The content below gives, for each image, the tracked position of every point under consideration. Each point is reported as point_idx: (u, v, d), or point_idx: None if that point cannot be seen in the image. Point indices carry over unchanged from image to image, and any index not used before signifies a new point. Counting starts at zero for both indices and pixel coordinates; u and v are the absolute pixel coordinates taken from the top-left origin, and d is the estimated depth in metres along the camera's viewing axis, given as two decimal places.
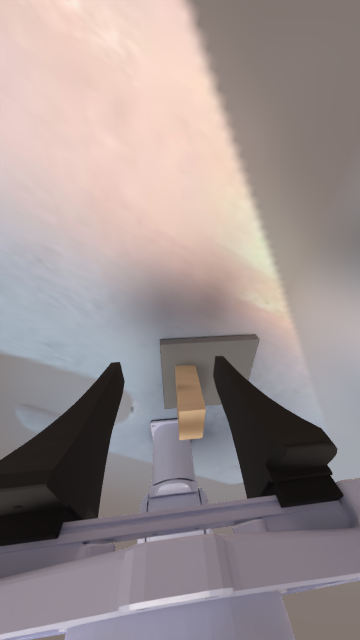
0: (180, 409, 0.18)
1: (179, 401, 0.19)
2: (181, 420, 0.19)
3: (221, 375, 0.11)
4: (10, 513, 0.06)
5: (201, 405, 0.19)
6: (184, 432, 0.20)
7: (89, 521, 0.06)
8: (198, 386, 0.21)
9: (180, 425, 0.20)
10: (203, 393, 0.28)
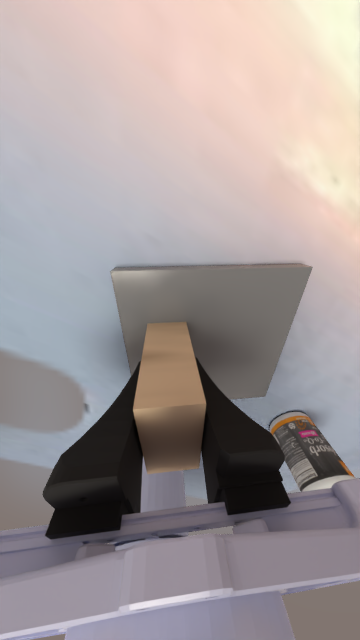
0: (137, 403, 0.07)
1: (140, 384, 0.08)
2: (144, 432, 0.08)
3: None
4: (74, 505, 0.06)
5: (195, 393, 0.07)
6: (156, 458, 0.09)
7: None
8: (189, 354, 0.10)
9: (143, 444, 0.08)
10: None
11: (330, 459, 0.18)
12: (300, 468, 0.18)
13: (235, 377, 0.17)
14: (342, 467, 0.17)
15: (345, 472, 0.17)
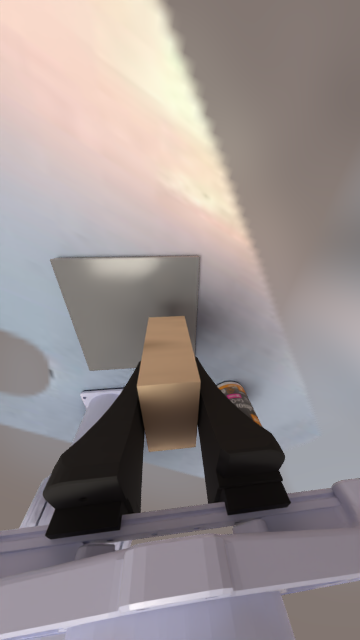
0: (141, 381, 0.08)
1: (143, 367, 0.09)
2: (146, 408, 0.09)
3: None
4: (73, 505, 0.06)
5: (191, 374, 0.08)
6: (157, 436, 0.10)
7: None
8: (187, 343, 0.11)
9: (146, 420, 0.09)
10: (137, 347, 0.21)
11: None
12: None
13: None
14: (251, 418, 0.22)
15: None
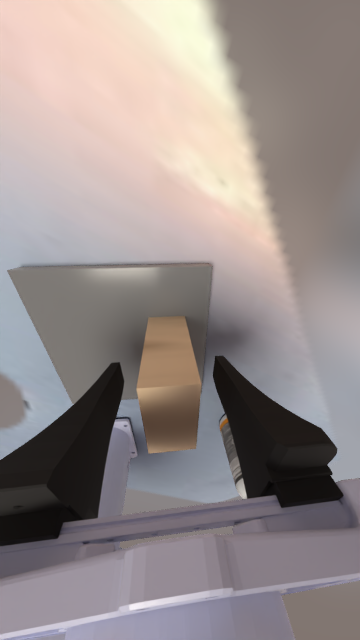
0: (140, 384, 0.08)
1: (142, 368, 0.09)
2: (146, 411, 0.08)
3: (221, 375, 0.11)
4: (10, 513, 0.06)
5: (191, 376, 0.08)
6: (157, 438, 0.10)
7: (89, 521, 0.06)
8: (187, 344, 0.10)
9: (145, 422, 0.09)
10: (131, 377, 0.17)
11: None
12: (235, 464, 0.19)
13: None
14: None
15: None
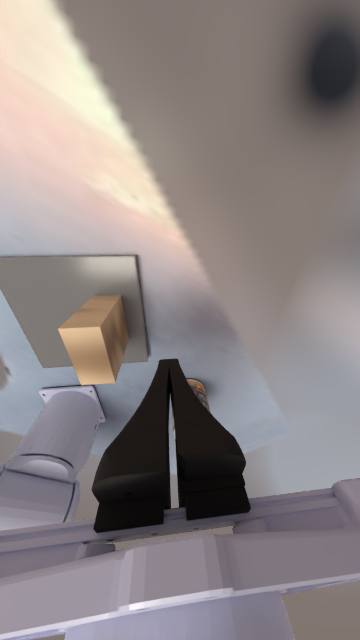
0: (61, 326, 0.12)
1: (68, 320, 0.13)
2: (69, 347, 0.13)
3: (170, 379, 0.11)
4: (118, 500, 0.06)
5: (96, 323, 0.13)
6: (83, 371, 0.14)
7: (89, 521, 0.06)
8: (108, 309, 0.15)
9: (71, 357, 0.13)
10: None
11: None
12: None
13: None
14: None
15: None
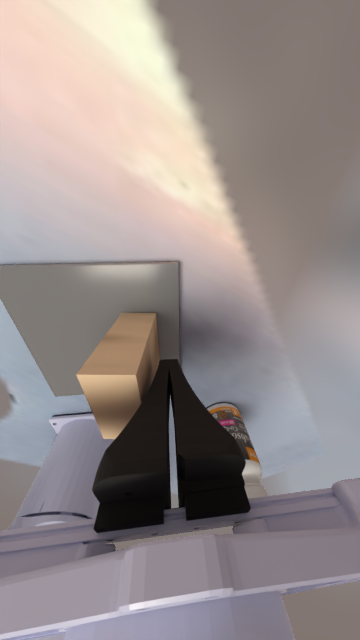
0: (81, 370, 0.08)
1: (91, 358, 0.09)
2: (90, 397, 0.09)
3: (170, 379, 0.11)
4: (118, 500, 0.06)
5: (130, 367, 0.09)
6: (107, 424, 0.10)
7: (89, 521, 0.06)
8: (143, 338, 0.11)
9: (93, 408, 0.10)
10: None
11: None
12: None
13: None
14: (246, 452, 0.18)
15: (247, 457, 0.18)
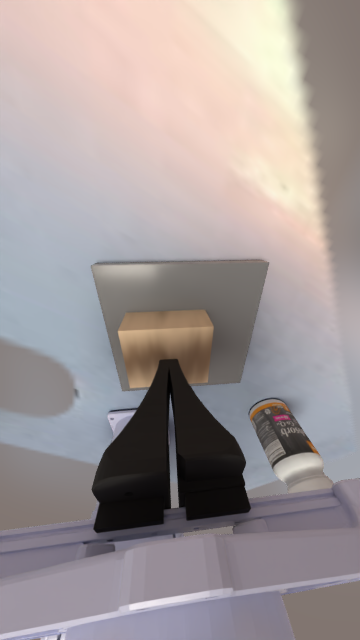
0: (128, 313, 0.14)
1: (140, 312, 0.14)
2: None
3: (170, 379, 0.11)
4: (118, 500, 0.06)
5: (125, 327, 0.12)
6: None
7: (89, 521, 0.06)
8: (161, 327, 0.12)
9: None
10: None
11: (298, 439, 0.19)
12: (272, 448, 0.20)
13: (210, 363, 0.18)
14: (308, 446, 0.19)
15: (310, 450, 0.18)
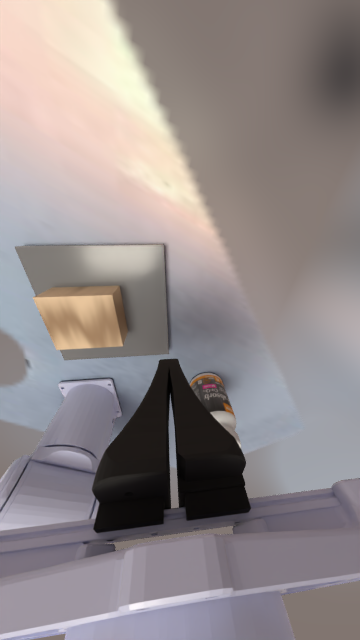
0: (53, 287, 0.17)
1: (63, 287, 0.18)
2: None
3: (170, 379, 0.11)
4: (118, 500, 0.06)
5: (41, 295, 0.15)
6: None
7: (89, 521, 0.06)
8: (70, 295, 0.15)
9: None
10: None
11: (216, 401, 0.23)
12: None
13: (137, 335, 0.21)
14: (223, 406, 0.22)
15: (223, 409, 0.22)
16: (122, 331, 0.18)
